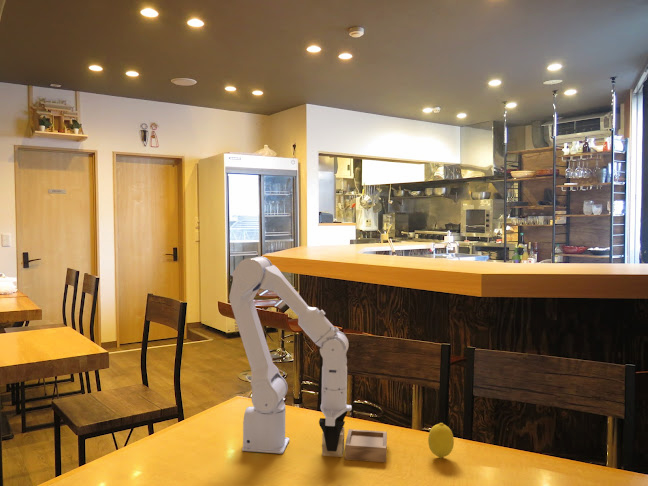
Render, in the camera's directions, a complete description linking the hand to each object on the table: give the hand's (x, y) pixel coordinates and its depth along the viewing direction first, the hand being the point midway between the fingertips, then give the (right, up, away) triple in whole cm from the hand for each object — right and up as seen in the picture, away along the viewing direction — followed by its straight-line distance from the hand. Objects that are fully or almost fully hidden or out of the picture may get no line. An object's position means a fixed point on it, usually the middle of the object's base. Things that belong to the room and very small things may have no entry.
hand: (333, 445), depth 119 cm
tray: (+8, -2, 0) cm, 8 cm away
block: (0, -2, 0) cm, 2 cm away
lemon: (+24, -2, -3) cm, 24 cm away
